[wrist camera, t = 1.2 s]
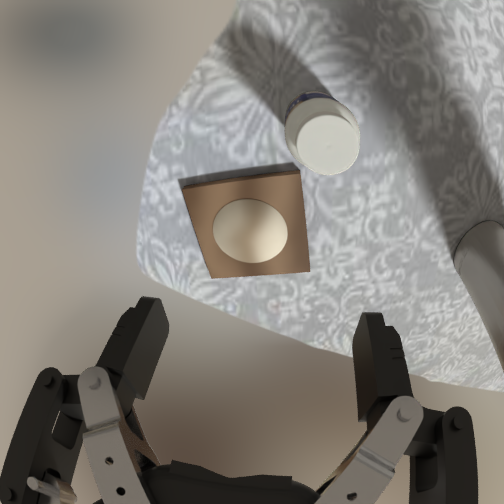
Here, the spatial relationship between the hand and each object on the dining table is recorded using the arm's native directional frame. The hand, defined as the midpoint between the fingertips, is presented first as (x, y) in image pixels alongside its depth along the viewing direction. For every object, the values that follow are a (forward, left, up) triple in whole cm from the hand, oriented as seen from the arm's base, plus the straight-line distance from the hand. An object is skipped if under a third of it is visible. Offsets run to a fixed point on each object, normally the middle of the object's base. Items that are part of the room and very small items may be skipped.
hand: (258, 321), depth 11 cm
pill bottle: (-4, -4, -20) cm, 21 cm away
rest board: (+4, +7, -20) cm, 21 cm away
